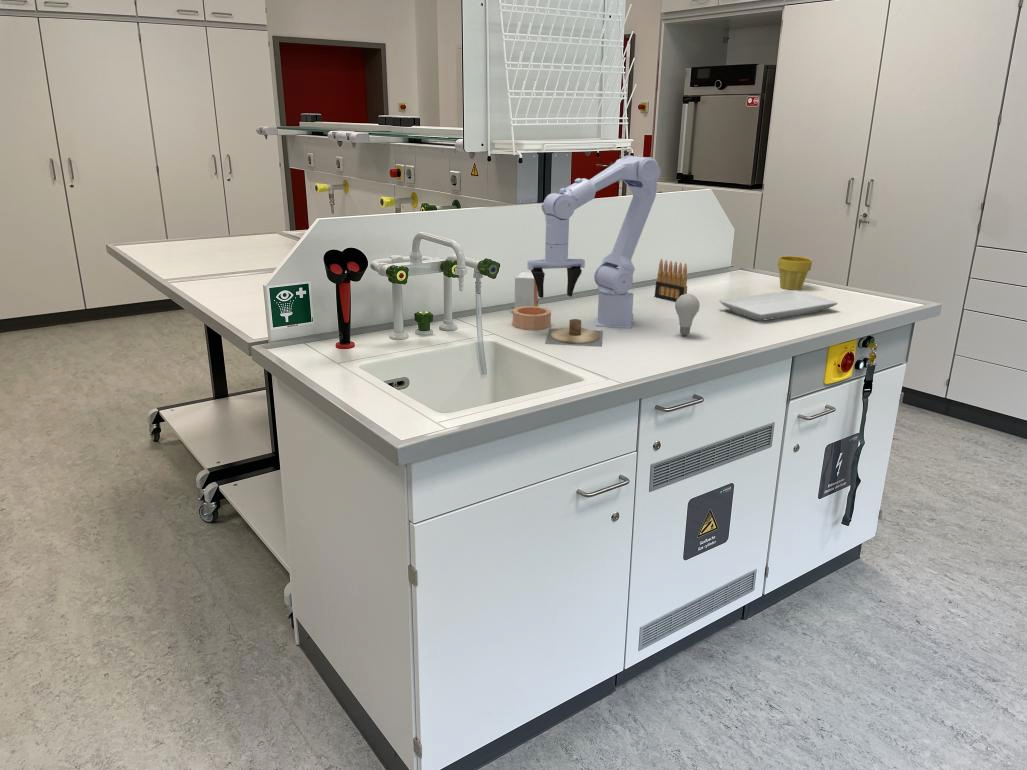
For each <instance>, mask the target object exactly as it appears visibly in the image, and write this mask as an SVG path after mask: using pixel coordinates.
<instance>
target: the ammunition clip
mask: <svg viewBox="0 0 1027 770" xmlns="http://www.w3.org/2000/svg"><path fill="white" fill-rule="evenodd" d="M657 270H658V271H657V277H656V279H657V280H656V282H655V289H654V298H655V297H656V299H659V298H660V300H664V301H669V302H673V303H676V300H677V299H678V298H679V297H680V296H681V295H684V294H688V286H687V281H688V277H687V276H688V267H687V263H684V265H683V264H682V262H679V264H678V263H677V261H675V262H674V264H673V261H672V260H670V261H669V263H668V259H665V261H663V259H662V258H661V259H660V261H659V264H658V269H657Z"/></svg>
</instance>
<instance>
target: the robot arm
mask: <svg viewBox="0 0 1027 770" xmlns="http://www.w3.org/2000/svg"><path fill="white" fill-rule="evenodd" d="M661 171H662V170H661V168H660V166H659V164H658V162H657V160H656V159H655V158H654V157H650V156H648V157H645V156H636V155H635V156H634V155H631V154H628V155H625V156H623V157H622V158H619V159H616V161H615V162H614V163H613V164H611V165H610V166H608V167H607V168H605V169H604V170H602V171H600V172H599V173H597V174H596V175H594V176H593V177H592V178H590V179H588V178H585V177H584V178H580V177H578V178H576V179H574V183H572V184H570V185H568V186H567V187H565V188H564V187H562V188H560V189H559V191H558V193H555V192H552V193H549V194H547V196H546V197H545V198H544V200H543V204H541V205H540V206H541V211H542V212H543V215H544V216H545V217H544V219H545V246H544V247H545V248H544V250H545V251H544V252H545V255H544V258H543V259H536V260H527V269H528V270H529V271H530V273H532V274H533V277H534V279H535V282H536V285H537V289H538V298H540V299H544V283H545V282H544V281H545V275H546V273H545V272H544V269H545V270H547V269H566V272H567V285H566V286H567V288H566V294H567V296H568V297H570V298H571V297H573V294H574V293H573V292H574V289H575V286H576V284H577V281H578V280H579V278H580V276H581V275H582V272H583V271H582V269H585V267H586V266H585V265H586V264H585V263H586V260H585V259H584V258H569V234H570V233H569V232H570V231H569V230H570V218H571V217H572V216H573V214H574V213H575V210H577V209H578V208H580V207H582V206H584V205H585V204H587V203H589V202H590V201H592V200H594V198H595V196H596V192H599V191H601V190H602V189H604V188H607V187H608V186H610V185H612V184H614V183H616V182H618V181H620V180H622V181H623V182H624V183H625V185H626V186H627V187H628V188H629V190H630V192H631V194H632V199H631V201H630V203H629V206H628V210H627V211H626V214H625V217H624V218H623V219H624V220H623V222H622V225H621V227H620V229H619V233H618V235H617V238H616V241H615V243H614V245H613V248H612V251H611V252H610V253H609V254H607V256H605V257H604V258H602V262H601V263H600V265H599V266H598V267H597V268H596V270H595V272H594V277H593V279H594V283H595V284H596V286H597V290H598V304H597V317H596V319H595V327H598V328H599V327H600V328H619V329H620V328H621V329H622V328H623V329H632V326H633V324H632V323H633V320H634V313H633V310H634V309H633V307H634V306H633V305H634V293H633V292H629V291H630V289H631V288H632V285H633V281H634V273H635V271H636V270H635V269H636V268H635V266H634V263H633V261H632V258H633V255H634V253H635V251H636V248H637V245H638V242H639V240H640V238H641V235H642V233H643V231H644V227H645V226H646V225H645V224H646V223H647V220H648V218H649V216H650V212H651V209H652V207H653V204H654V202H655V200H656V196H657V185H658V180H659V178H660V175H661V173H662V172H661Z"/></svg>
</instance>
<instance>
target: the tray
mask: <svg viewBox="0 0 1027 770" xmlns="http://www.w3.org/2000/svg"><path fill="white" fill-rule="evenodd" d="M718 301H719V303H720V304H721V305H723V306H724V307H726V308H727V309H729V310H731V311H732V312H733V313H734V312H735V314H737V313H738V315H740V314H741V316H743V315H745V316H744V317H746V316H748V317H747V318H749V317H751V318H750V319H752V318H754V319H753V320H755V319H757V320H756V321H765V320H764V319H768V320H772V319H771V318H774V319H779V318H778V317H780V318H785V316H787V317H791V316H792V315H793V316H798V314H800V315H804V314H805V315H807V314H812V313H818V311H819V312H822V311H823V310H827V309H830V308H833V307H835V306H837V305H838V301H837V302H836V301H834V300H831V299H828V298H827V299H826V298H823V297H820V296H818V295H817V296H816V295H813V294H809V293H806V292H803V291H799V290H783V291H776V292H767V293H761V294H756V295H755V294H754V295H748V296H742V297H741V296H740V297H733V298H723V299H720V300H718ZM793 316H792V317H793Z"/></svg>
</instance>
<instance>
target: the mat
mask: <svg viewBox="0 0 1027 770" xmlns="http://www.w3.org/2000/svg"><path fill="white" fill-rule="evenodd" d="M548 328H549V329H548V332H547V334H546V339H545V342H544V344H545V345H555V346H556V345H558V346H560V345H561V346H578V347H579V346H580V347H581V346H582V347H600V348H601V347H603V339H604V338H603V337H604V336H603V334H604V331H603V330H596V329H595V330H594V329H592V330H593V331H595V332H597V333H598V334H599V338H598V340H597V341H595V342H592V343H586V344H569V343H563V342H559V341H556V340H554V339H552V337H551V332H552V331H554V330H556V329H557V328H554V327H553V328H552V327H551V328H550V327H548Z"/></svg>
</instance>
